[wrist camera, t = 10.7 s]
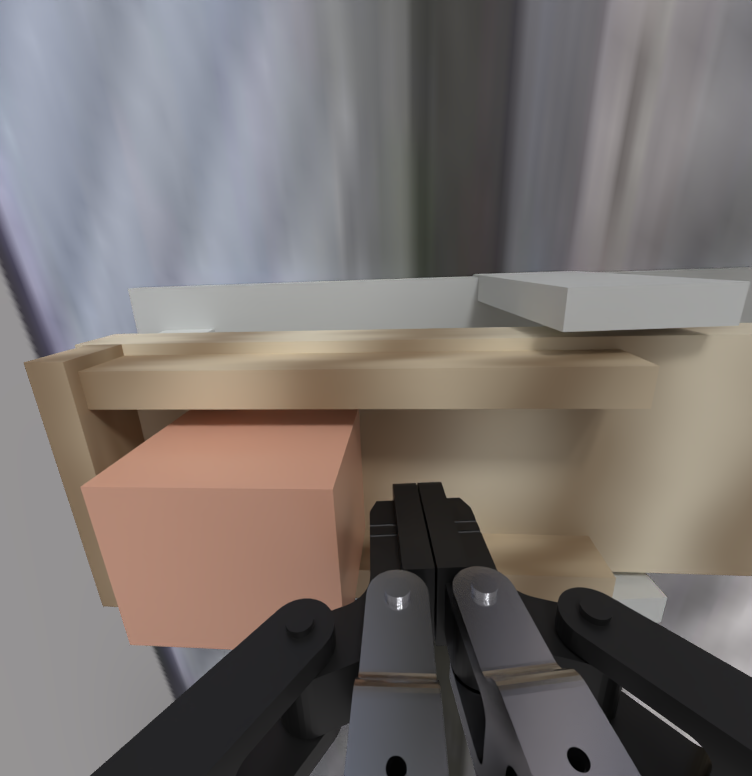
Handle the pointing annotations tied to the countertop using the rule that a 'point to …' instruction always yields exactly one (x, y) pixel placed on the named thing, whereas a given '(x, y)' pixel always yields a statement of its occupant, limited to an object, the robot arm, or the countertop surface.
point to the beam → (464, 432)
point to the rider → (231, 522)
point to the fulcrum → (467, 318)
